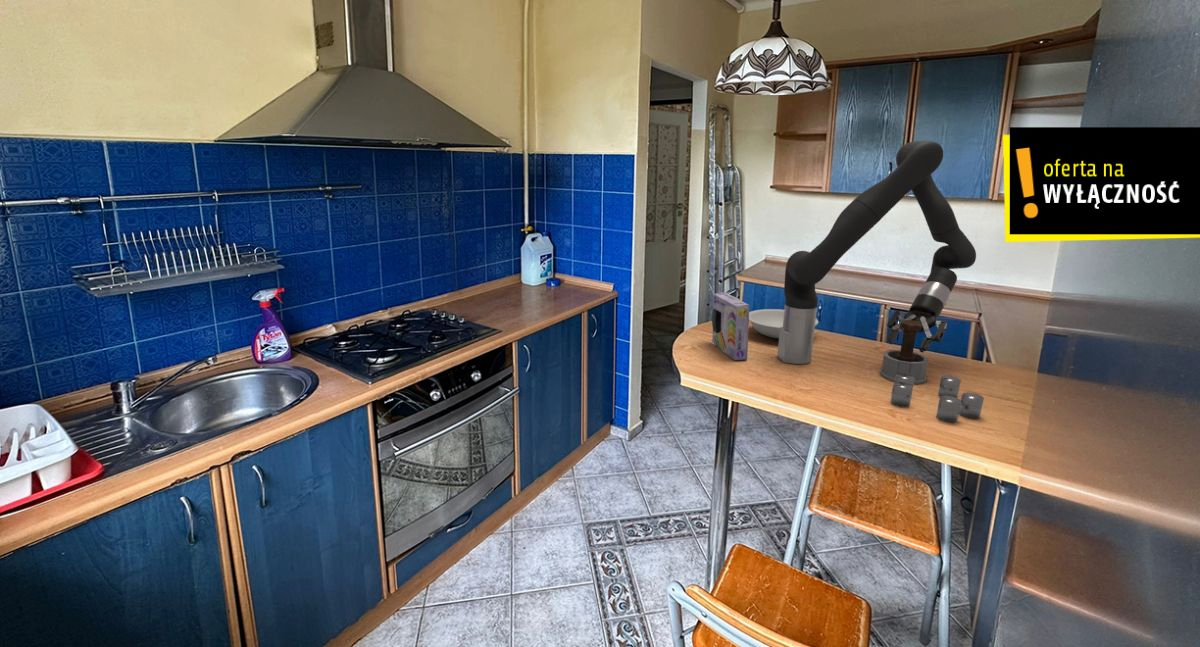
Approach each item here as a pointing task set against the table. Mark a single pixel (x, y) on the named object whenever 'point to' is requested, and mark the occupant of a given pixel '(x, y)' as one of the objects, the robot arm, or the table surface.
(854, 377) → the table surface
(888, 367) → the round gray container
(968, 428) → the table surface
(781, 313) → the soup bowl
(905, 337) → the bolt
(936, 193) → the robot arm
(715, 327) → the cake pan box
